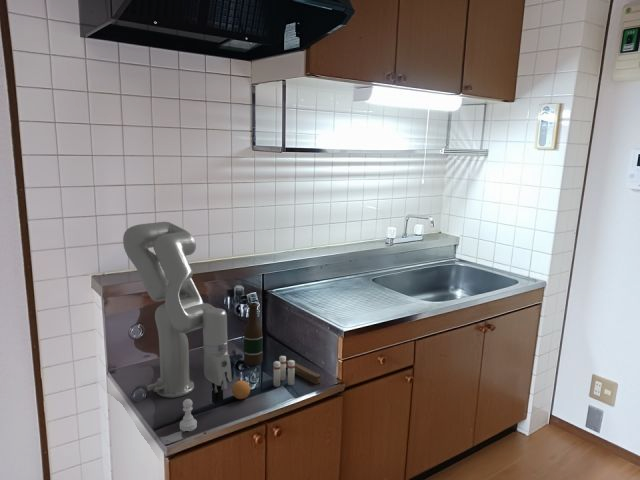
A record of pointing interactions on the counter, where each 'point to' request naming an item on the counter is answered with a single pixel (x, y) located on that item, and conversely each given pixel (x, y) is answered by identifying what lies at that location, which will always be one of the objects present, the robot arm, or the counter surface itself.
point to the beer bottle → (253, 338)
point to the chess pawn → (188, 417)
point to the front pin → (276, 373)
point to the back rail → (306, 373)
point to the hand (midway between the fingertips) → (217, 401)
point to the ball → (241, 389)
